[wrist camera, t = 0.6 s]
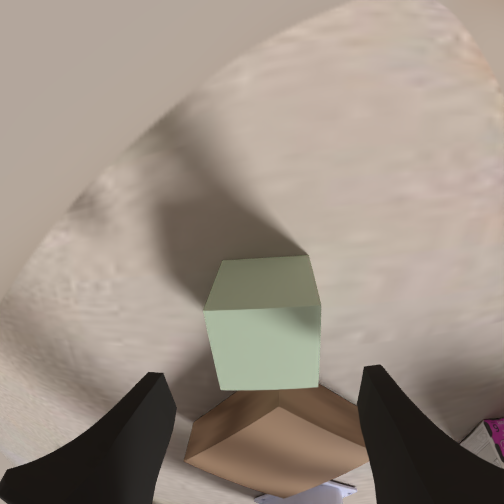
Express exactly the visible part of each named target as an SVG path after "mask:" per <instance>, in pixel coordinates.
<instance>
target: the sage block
mask: <svg viewBox="0 0 504 504" xmlns="http://www.w3.org/2000/svg"><path fill="white" fill-rule="evenodd" d="M203 313H204V318H205V323H206V327H207V332H208V337H209V341H210V346H211V350H212V355H213V359H214V364H215V368H216V372H217V377H218V381H219V385H220V389H221V390H278V389H298V388H312V387H318V381H319V361H320V336H321V302H320V298H319V294H318V290H317V286H316V282H315V278H314V274H313V270H312V266H311V262H310V258H309V255H300V256H284V257H268V258H252V259H236V260H222V263H221V265H220V268H219V271H218V273H217V276H216V278H215V281H214V284H213V286H212V289H211V291H210V294H209V297H208V299H207V302H206V304H205V307H204V310H203Z"/></svg>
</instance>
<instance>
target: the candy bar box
mask: <svg viewBox="0 0 504 504" xmlns="http://www.w3.org/2000/svg"><path fill="white" fill-rule="evenodd" d="M460 445H461V446H463V447H464V448H466V449H467V450H469V451H471V452H472V453H474V454H475V455H477V456H479V457H480V458H482V459H484V460H486V461H488V462H490V463H492V464H494V465H496V466H498V467H500V468H503V469H504V418H502V419H490V420H483V421H482V422H480V423H479V424H478V425H477V426H476V427H475V429H474V430H473V431H472V432H471V433H470V434H469V435H468V436H467V437H466V438H465V439H464V440H463V441H462V442H461V443H460Z"/></svg>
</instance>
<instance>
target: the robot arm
mask: <svg viewBox="0 0 504 504" xmlns="http://www.w3.org/2000/svg"><path fill="white" fill-rule="evenodd" d="M357 406H358V413H359V420H360V427H361V431H362V435H363V438H364V442H365V446H366V450H367V454H368V457H369V461H370V465H371V469H372V473H373V478H374V483H375V491H376V500H377V504H504V469H503V468H500V467H498V466H496V465H494V464H492V463H490V462H488V461H486V460H484V459H482V458H480V457H479V456H477V455H475V454H474V453H472V452H471V451H469V450H467V449H466V448H464V447H463V446H461V445H460V444H458V443H457V442H456V441H454V440H453V439H452V438H450V437H449V436H448V435H447V434H445V433H444V432H443V431H442V430H441V429H439V428H438V427H437V426H436V425H435V424H434V423H433V422H432V421H431V420H430V419H429V418H428V417H427V416H426V415H424V414H423V413H422V411H421V410H420V409H419V408H418V407H417V406H416V405H415V404H414V403H413V402H412V401H411V400H410V399H409V398H408V396H407V395H406V394H405V393H404V392H403V391H402V390H401V388H400V387H399V386H398V385H397V384H396V382H395V381H394V380H393V379H392V378H391V376H390V375H389V374H388V373H387V371H386V370H385V369H384V368H383V366H381V365H373V366H365V367H364V370H363V376H362V381H361V386H360V391H359V396H358V401H357ZM176 410H177V407H176V405H175V402H174V400H173V397H172V395H171V392H170V390H169V387H168V384H167V382H166V379H165V376H164V374H163V373H155V372H148V373H147V374H146V375H145V376H144V377H143V378H142V379H141V380H140V381H139V382H138V383H137V384H136V385H135V386H134V387H133V388H132V389H131V390H130V391H129V392H128V393H127V394H126V395H125V396H124V397H123V398H122V399H121V400H120V401H119V402H118V403H117V404H116V405H115V406H114V407H113V408H112V409H111V410H110V411H109V412H108V413H107V414H106V415H104V416H103V417H102V418H101V419H100V420H99V421H98V422H96V423H95V424H94V425H93V426H92V427H90V428H89V429H88V430H87V431H85V432H84V433H82V434H81V435H80V436H78V437H77V438H75V439H74V440H72V441H71V442H69V443H67V444H66V445H64V446H62V447H61V448H59V449H57V450H55V451H54V452H52V453H50V454H48V455H46V456H44V457H42V458H39V459H37V460H35V461H32V462H29V463H27V464H24V465H21V466H18V467H14V468H11V469H7V471H6V472H5V474H4V476H3V478H2V480H1V481H0V498H1V499H2V500H3V501H5V502H6V503H7V504H152V501H153V496H154V490H155V485H156V481H157V477H158V474H159V471H160V468H161V465H162V462H163V459H164V456H165V453H166V450H167V447H168V444H169V441H170V438H171V434H172V431H173V426H174V421H175V415H176ZM356 492H357V488H354V487H350V486H346V485H342V484H339V483H335V482H332V481H328V482H325V483H323V484H321V485H318V486H316V487H313V488H311V489H309V490H306V491H303V492H301V493H298V494H296V495H293V496H290V497H287V498H284V499H283V498H280V497H276V496H273V495H270V494H266V495H263V496H260V497H257V498H255V499H254V502H256V503H259V504H343V498H344V497H346V496H349V495H351V494H353V493H356Z"/></svg>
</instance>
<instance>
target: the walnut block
mask: <svg viewBox="0 0 504 504" xmlns="http://www.w3.org/2000/svg"><path fill="white" fill-rule="evenodd" d="M184 462H186V463H188V464H190V465H193V466H195V467H197V468H199V469H202V470H204V471H206V472H209V473H211V474H213V475H216V476H218V477H221V478H223V479H226V480H229V481H231V482H234V483H237V484H239V485H242V486H245V487H248V488H251V489H254V490H257V491H260V492H263V493H266V494H270V495H273V496H276V497H280V498H283V499H284V498H287V497H290V496H293V495H296V494H298V493H301V492H303V491H306V490H309V489H311V488H313V487H316V486H318V485H321V484H323V483H325V482H328V481H330V480H332V479H334V478H336V477H339V476H341V475H343V474H345V473H347V472H349V471H351V470H353V469H355V468H357V467H359V466H361V465H363V464H365V463H367V462H369V457H368V454H367V450H366V446H365V442H364V438H363V435H362V431H361V427H360V420H359V413H358V407H357V406H356V405H354V404H352V403H350V402H349V401H347V400H345V399H343V398H342V397H340V396H338V395H337V394H335V393H333V392H332V391H330V390H328V389H327V388H325V387H323V386H322V385H320V384H319V383H318V387H312V388H298V389H278V390H238V391H237V392H235V393H234V394H233V395H231V396H230V397H229V398H227V399H226V400H224V401H223V402H222V403H220V404H219V405H218V406H216V407H215V408H213V409H212V410H211V411H209V412H208V413H206V414H205V415H203V416H202V417H201V418H199V419H198V420H196V421H195V422H194V423H193V427H192V431H191V435H190V439H189V442H188V446H187V450H186V454H185V458H184Z"/></svg>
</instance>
